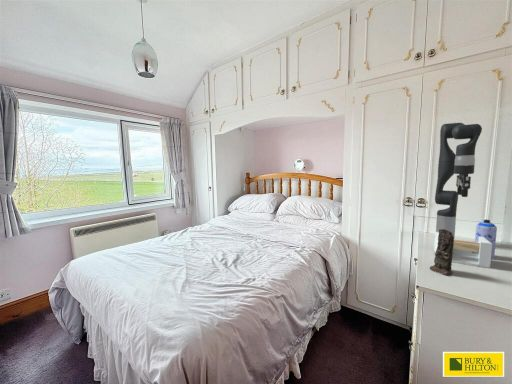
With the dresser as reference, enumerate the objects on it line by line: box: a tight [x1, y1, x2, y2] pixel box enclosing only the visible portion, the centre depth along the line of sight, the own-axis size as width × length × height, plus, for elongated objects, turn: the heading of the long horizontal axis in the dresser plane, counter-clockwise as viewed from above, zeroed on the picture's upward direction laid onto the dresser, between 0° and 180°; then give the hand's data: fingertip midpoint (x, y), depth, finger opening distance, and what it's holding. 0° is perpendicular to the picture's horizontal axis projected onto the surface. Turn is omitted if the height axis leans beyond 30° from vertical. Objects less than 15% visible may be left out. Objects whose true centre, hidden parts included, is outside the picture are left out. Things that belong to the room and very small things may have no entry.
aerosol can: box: [474, 219, 498, 260], centre depth 115 cm, size 8×8×20 cm
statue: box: [429, 229, 455, 276], centre depth 100 cm, size 7×7×20 cm
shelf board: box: [453, 238, 480, 252], centre depth 112 cm, size 6×14×4 cm, turn 53°
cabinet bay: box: [433, 231, 492, 269], centre depth 112 cm, size 12×19×12 cm, turn 58°
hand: (462, 195), depth 113 cm, fingers open, 8 cm apart
